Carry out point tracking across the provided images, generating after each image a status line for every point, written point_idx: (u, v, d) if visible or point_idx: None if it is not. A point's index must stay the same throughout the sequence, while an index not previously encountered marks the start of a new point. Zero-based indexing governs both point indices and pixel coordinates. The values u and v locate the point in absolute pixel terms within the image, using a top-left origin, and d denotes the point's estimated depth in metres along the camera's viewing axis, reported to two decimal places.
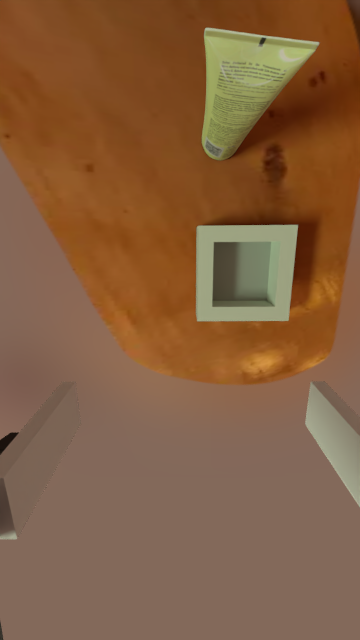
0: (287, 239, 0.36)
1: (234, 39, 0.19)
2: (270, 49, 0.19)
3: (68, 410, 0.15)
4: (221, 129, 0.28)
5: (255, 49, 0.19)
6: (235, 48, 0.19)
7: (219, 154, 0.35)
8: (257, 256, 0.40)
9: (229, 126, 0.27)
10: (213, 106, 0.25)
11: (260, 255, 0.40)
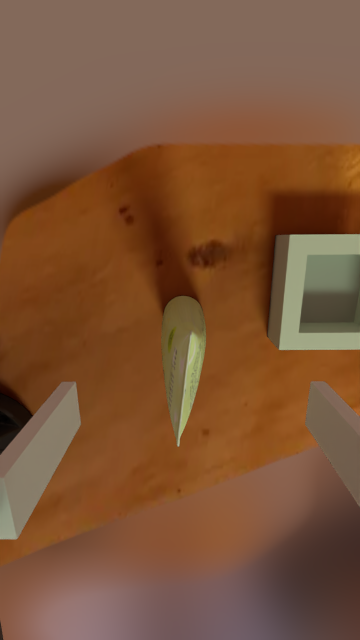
0: (305, 246, 0.29)
1: (182, 413, 0.18)
2: (187, 374, 0.18)
3: (68, 410, 0.15)
4: None
5: (186, 387, 0.18)
6: (184, 406, 0.18)
7: None
8: (308, 268, 0.34)
9: None
10: None
11: (307, 264, 0.33)
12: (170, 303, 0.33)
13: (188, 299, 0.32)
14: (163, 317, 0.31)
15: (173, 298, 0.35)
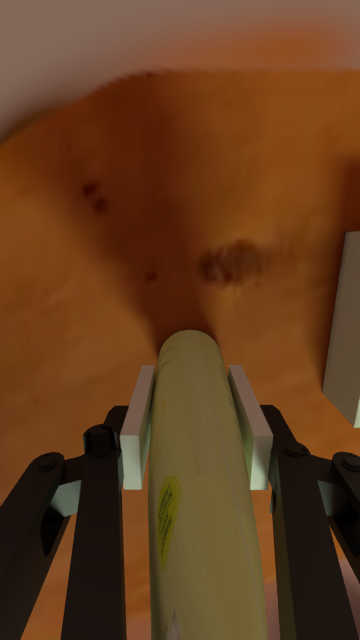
0: None
1: None
2: None
3: (152, 389, 0.17)
4: None
5: None
6: None
7: None
8: None
9: None
10: None
11: None
12: (169, 346, 0.19)
13: (199, 340, 0.19)
14: (156, 375, 0.18)
15: None
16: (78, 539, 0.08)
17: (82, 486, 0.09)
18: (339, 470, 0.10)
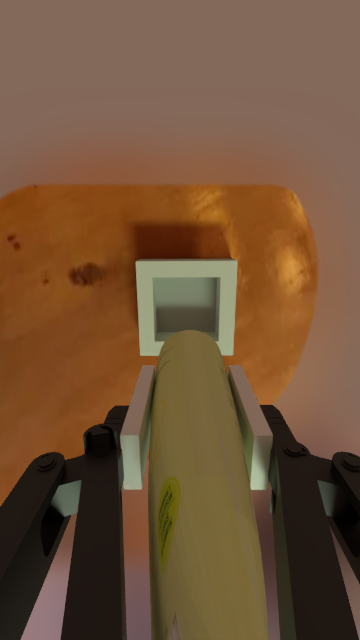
0: (150, 270, 0.35)
1: None
2: None
3: (152, 389, 0.17)
4: None
5: None
6: None
7: None
8: (170, 286, 0.40)
9: None
10: None
11: (169, 283, 0.40)
12: (169, 346, 0.19)
13: (199, 340, 0.19)
14: (156, 375, 0.17)
15: (174, 334, 0.22)
16: (78, 539, 0.08)
17: (82, 486, 0.09)
18: (339, 470, 0.10)
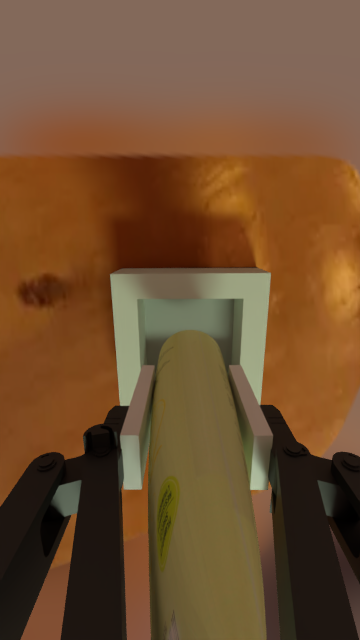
0: (133, 288, 0.22)
1: None
2: None
3: (152, 389, 0.17)
4: None
5: None
6: None
7: None
8: (166, 308, 0.27)
9: None
10: None
11: (164, 304, 0.27)
12: (169, 346, 0.19)
13: (199, 340, 0.19)
14: (156, 375, 0.17)
15: None
16: (78, 539, 0.08)
17: (82, 486, 0.09)
18: (339, 470, 0.10)
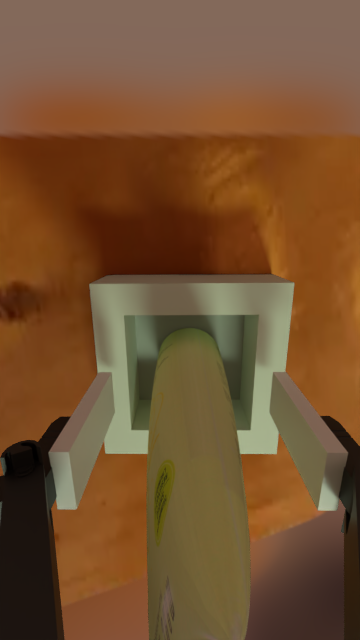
0: (118, 302, 0.18)
1: None
2: None
3: (107, 398, 0.16)
4: None
5: None
6: None
7: None
8: (162, 324, 0.22)
9: None
10: None
11: (159, 318, 0.22)
12: (168, 343, 0.20)
13: (198, 337, 0.20)
14: (155, 371, 0.18)
15: None
16: (1, 570, 0.07)
17: (3, 512, 0.08)
18: None
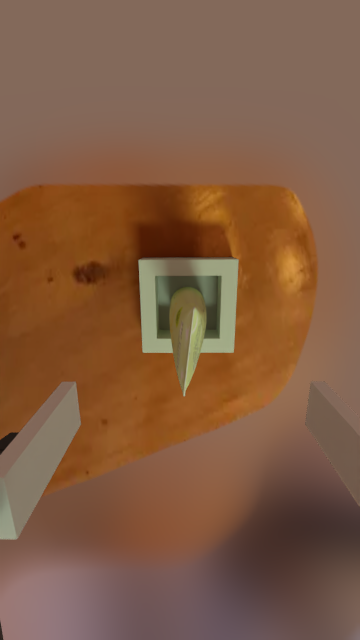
0: (152, 269, 0.36)
1: (187, 371, 0.23)
2: (191, 340, 0.23)
3: (68, 410, 0.15)
4: None
5: (190, 351, 0.23)
6: (189, 366, 0.24)
7: None
8: (172, 284, 0.40)
9: None
10: None
11: (171, 282, 0.40)
12: (176, 292, 0.38)
13: (192, 289, 0.38)
14: (170, 304, 0.36)
15: (179, 289, 0.40)
16: None
17: None
18: None
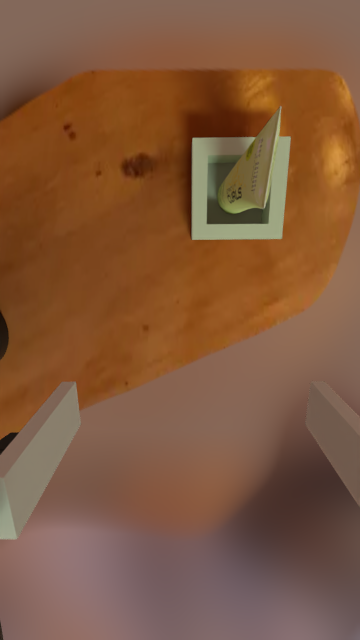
0: (205, 147, 0.36)
1: None
2: None
3: (68, 410, 0.15)
4: None
5: None
6: None
7: None
8: (219, 176, 0.41)
9: None
10: None
11: (218, 173, 0.41)
12: None
13: None
14: (223, 183, 0.37)
15: None
16: None
17: None
18: None
